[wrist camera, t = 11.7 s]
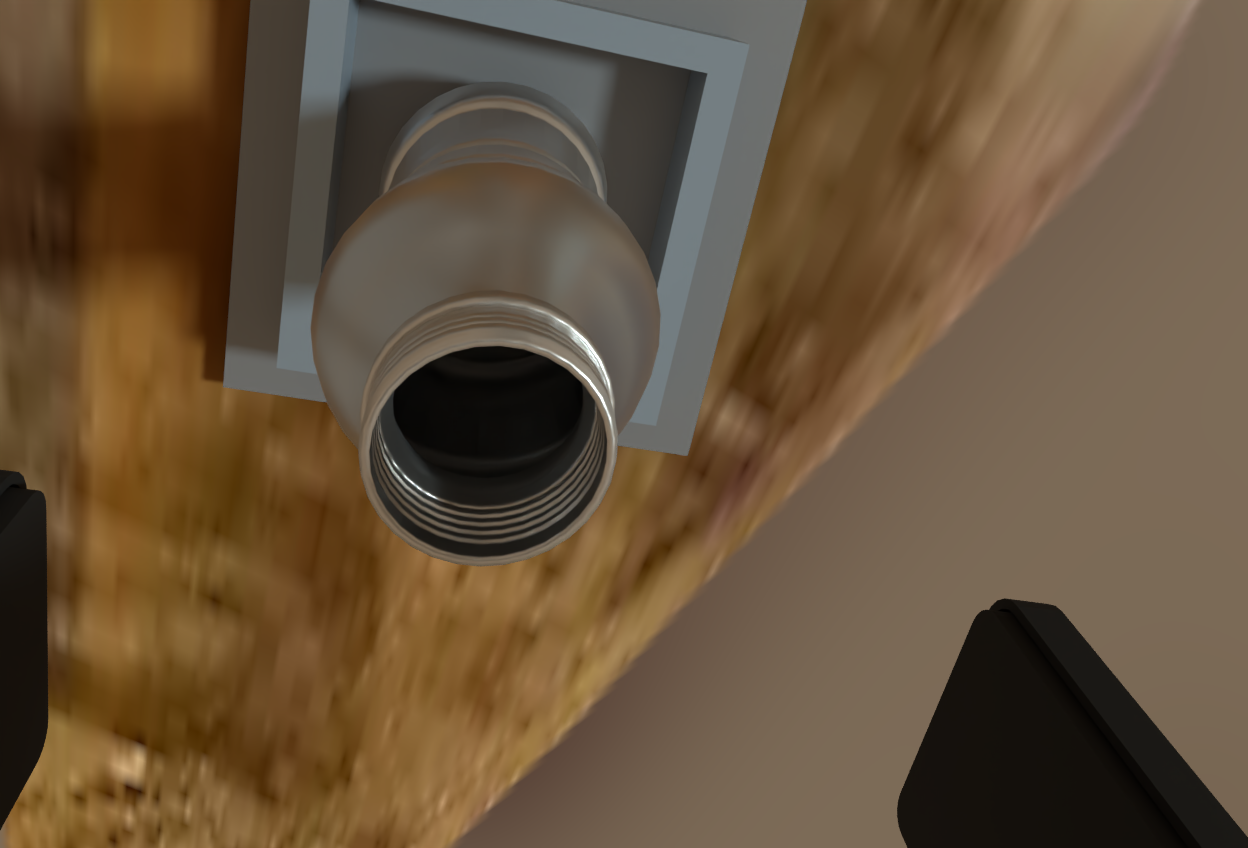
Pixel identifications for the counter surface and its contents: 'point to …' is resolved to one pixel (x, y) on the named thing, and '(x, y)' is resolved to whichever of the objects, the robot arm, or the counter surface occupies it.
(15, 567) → the robot arm
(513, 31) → the blue-grey square tray
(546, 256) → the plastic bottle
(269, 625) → the counter surface
